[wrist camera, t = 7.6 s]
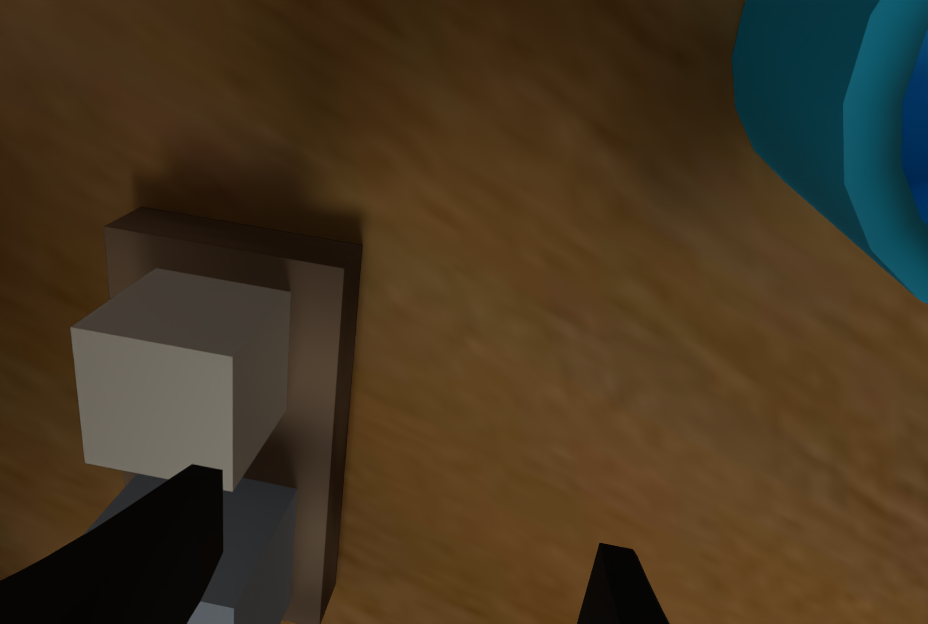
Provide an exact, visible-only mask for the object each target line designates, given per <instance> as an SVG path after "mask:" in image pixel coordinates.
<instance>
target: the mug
mask: <svg viewBox="0 0 928 624" xmlns="http://www.w3.org/2000/svg"><path fill="white" fill-rule="evenodd" d="M732 68H733V82H734V95H735V108H736V110H737V113H738V115H739V117H740V119H741V122H742V124H743V126H744V129H745V131H746V133H747V135H748V138H749V140H750V142H751V145H752V147H753V149H754V151H755V152H756V153H757V154H758V155H759V156H760V157H761V158H762V159H763V160H764V161H765V162H766V163H767V164H768V165H769V166H770V167H771V168H772V169H773V170H774V171H775V172H776V173H777V174H778V175H779V176H780V177H781V179H782V180H783V181H784V182H785V183H787V184H788V185H789V186H790V187H791V188H792V189H793V190H795V191H796V192H797V193H798V194H799V195H800V196H801V197H802V198H804V199H805V200H806V201H807V202H808V203H809V204H810V205H812V206H813V207H814V208H815V209H816V210H817V211H818V212H820V213H821V214H822V215H823V216H824V217H825V218H826V219H828V220H829V221H830V222H831V223H832V224H833V225H834V226H836V227H837V228H838V229H839V230H840V231H841V232H842V233H844V234H845V235H846V236H847V237H848V238H849V239H850V240H851V241H853V242H854V243H855V244H856V245H857V246H858V247H859V248H861V249H862V250H863V251H864V252H865V253H866V254H867V255H869V256H870V257H871V258H872V259H873V260H874V261H875V262H877V263H878V264H879V265H880V266H881V267H882V268H883V269H885V270H886V271H887V272H888V273H889V274H890V275H891V276H893V277H894V278H895V279H896V280H897V281H898V282H899V283H900V284H902V285H903V286H904V287H905V288H906V289H907V290H908V291H910V292H911V293H912V294H913V295H914V296H915V297H916V298H918V299H919V300H921V301H923V302H925V303H927V304H928V0H746V2H745V4H744V8H743V13H742V17H741V21H740V25H739V29H738V34H737V38H736V42H735V46H734V50H733V55H732Z"/></svg>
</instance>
